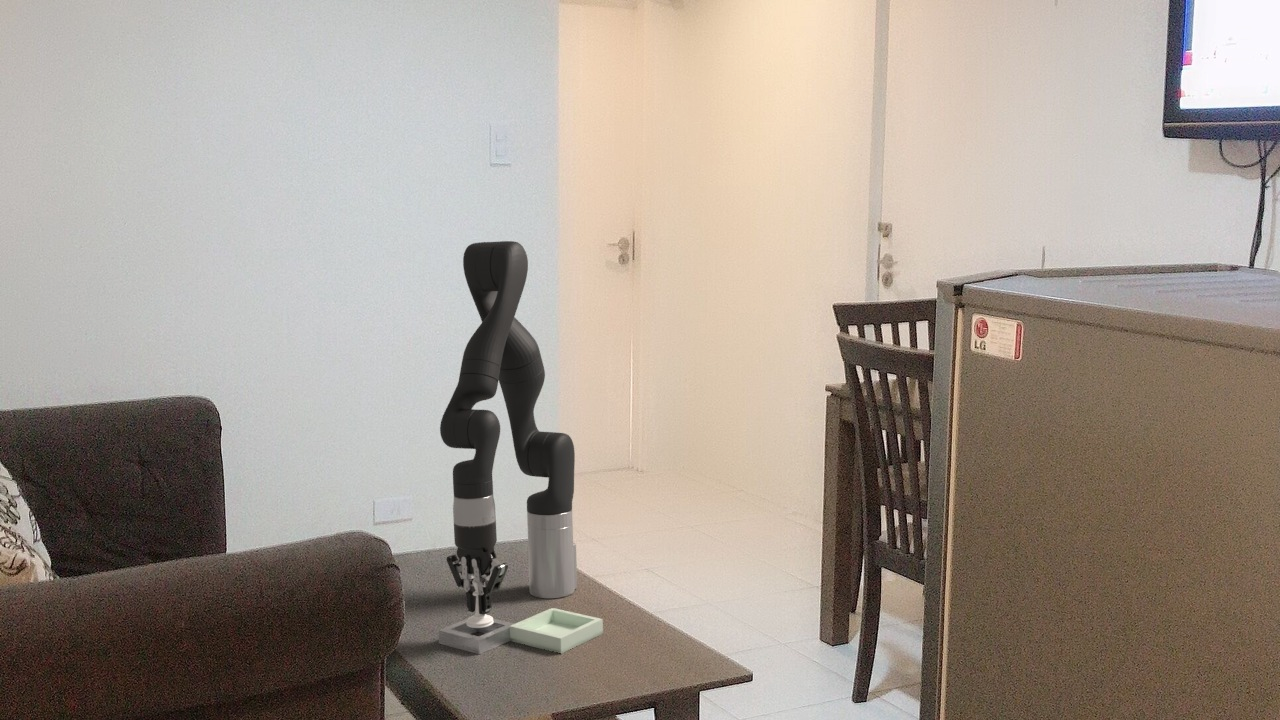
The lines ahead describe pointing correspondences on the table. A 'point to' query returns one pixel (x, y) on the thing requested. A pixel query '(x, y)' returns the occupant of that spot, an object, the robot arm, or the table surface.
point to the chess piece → (477, 618)
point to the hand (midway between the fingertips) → (479, 611)
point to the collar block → (463, 639)
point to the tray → (556, 630)
